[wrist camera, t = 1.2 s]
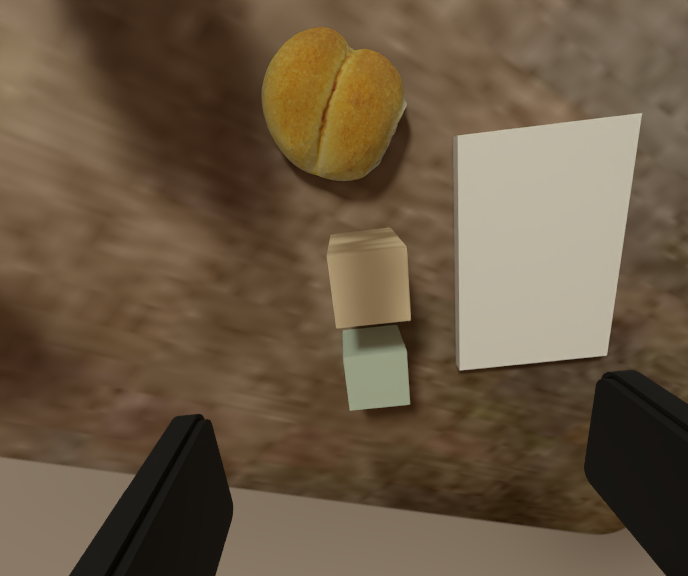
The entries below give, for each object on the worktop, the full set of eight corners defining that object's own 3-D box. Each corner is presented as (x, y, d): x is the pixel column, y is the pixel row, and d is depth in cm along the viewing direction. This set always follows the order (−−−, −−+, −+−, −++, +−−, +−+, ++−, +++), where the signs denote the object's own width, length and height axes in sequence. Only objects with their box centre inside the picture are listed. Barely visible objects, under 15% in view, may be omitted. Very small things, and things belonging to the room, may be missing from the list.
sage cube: (397, 324, 29) (406, 350, 24) (400, 371, 30) (410, 404, 26) (342, 330, 29) (343, 357, 25) (348, 376, 30) (349, 410, 26)
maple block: (390, 227, 26) (406, 246, 19) (394, 284, 27) (410, 320, 21) (330, 234, 26) (326, 255, 20) (337, 290, 28) (336, 328, 21)
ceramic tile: (629, 115, 24) (642, 113, 23) (598, 349, 29) (606, 355, 28) (453, 136, 24) (457, 135, 23) (456, 364, 30) (459, 370, 29)
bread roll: (290, 16, 22) (280, -17, 18) (416, 80, 23) (431, 62, 19) (248, 145, 24) (231, 141, 21) (364, 197, 26) (369, 202, 22)
